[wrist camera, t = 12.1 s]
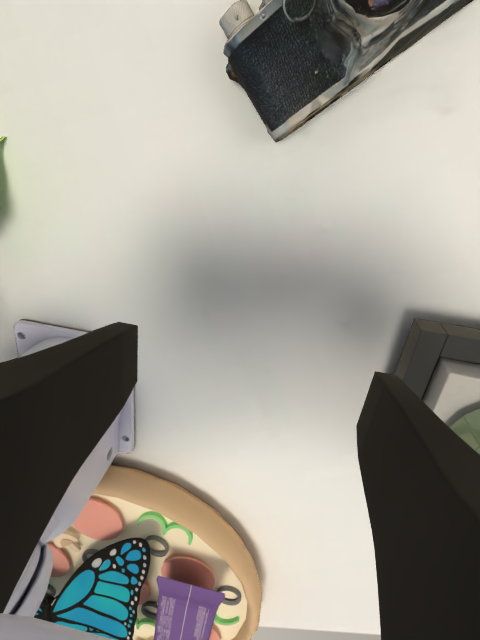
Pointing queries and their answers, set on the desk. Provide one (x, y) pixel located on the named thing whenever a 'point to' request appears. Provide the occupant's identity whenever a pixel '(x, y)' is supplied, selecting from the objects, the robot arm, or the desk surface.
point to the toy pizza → (164, 548)
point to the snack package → (185, 610)
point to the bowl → (469, 428)
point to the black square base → (434, 351)
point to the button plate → (453, 389)
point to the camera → (318, 50)
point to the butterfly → (102, 592)
